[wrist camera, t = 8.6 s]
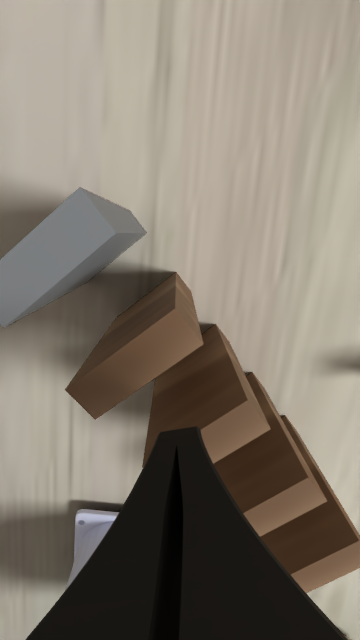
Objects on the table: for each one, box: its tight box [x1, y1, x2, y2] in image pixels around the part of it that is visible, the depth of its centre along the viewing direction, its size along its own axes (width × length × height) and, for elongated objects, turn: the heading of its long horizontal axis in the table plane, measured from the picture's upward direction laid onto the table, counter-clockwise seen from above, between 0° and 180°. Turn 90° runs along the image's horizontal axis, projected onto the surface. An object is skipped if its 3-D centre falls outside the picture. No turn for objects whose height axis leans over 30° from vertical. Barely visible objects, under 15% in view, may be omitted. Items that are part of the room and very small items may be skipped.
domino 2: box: [65, 272, 203, 419], centre depth 14 cm, size 2×5×9 cm, turn 127°
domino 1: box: [0, 187, 147, 328], centre depth 13 cm, size 2×5×9 cm, turn 128°
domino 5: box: [260, 416, 360, 593], centre depth 17 cm, size 2×5×9 cm, turn 127°
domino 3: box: [142, 324, 271, 468], centre depth 15 cm, size 2×5×9 cm, turn 127°
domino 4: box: [214, 372, 327, 536], centre depth 16 cm, size 2×5×9 cm, turn 128°
